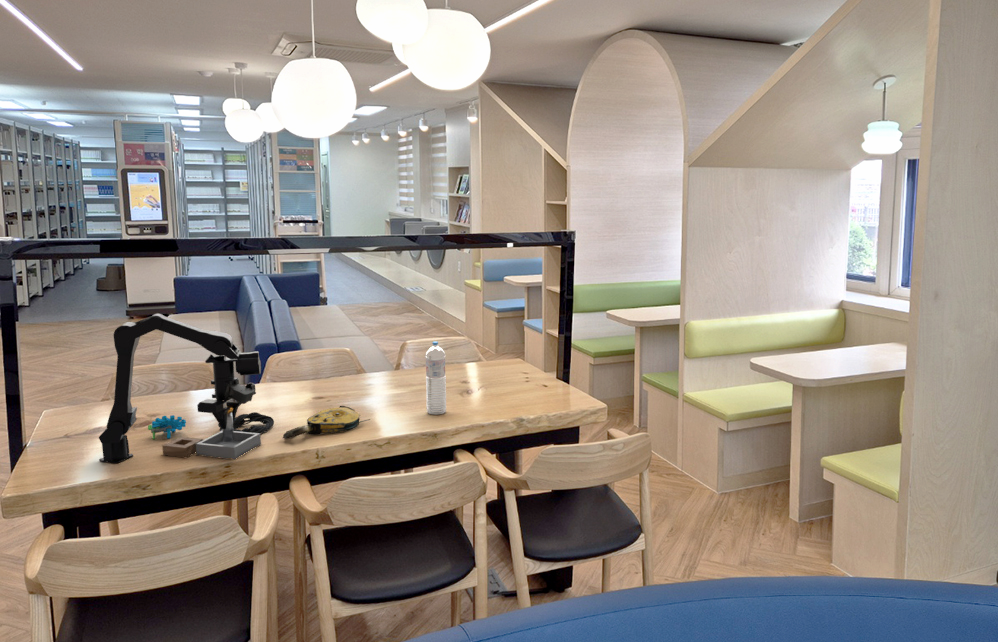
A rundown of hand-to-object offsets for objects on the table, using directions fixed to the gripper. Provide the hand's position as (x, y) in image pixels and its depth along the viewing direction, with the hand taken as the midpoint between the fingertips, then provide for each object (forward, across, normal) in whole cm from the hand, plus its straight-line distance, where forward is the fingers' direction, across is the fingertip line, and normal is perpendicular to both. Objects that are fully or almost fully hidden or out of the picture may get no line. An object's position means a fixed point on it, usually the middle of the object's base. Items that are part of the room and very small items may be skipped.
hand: (227, 427), depth 219 cm
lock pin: (+4, 0, 0) cm, 4 cm away
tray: (+7, 0, 0) cm, 7 cm away
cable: (+8, +17, +5) cm, 19 cm away
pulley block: (+7, +24, -18) cm, 31 cm away
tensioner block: (+7, -5, +12) cm, 15 cm away
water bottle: (+7, +51, -47) cm, 70 cm away
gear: (+7, +6, +27) cm, 28 cm away
